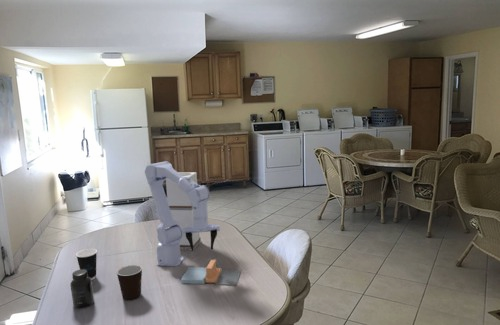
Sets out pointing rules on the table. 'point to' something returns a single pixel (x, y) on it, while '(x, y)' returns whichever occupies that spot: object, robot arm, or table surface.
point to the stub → (212, 272)
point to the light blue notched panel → (195, 275)
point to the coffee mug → (130, 281)
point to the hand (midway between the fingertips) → (202, 249)
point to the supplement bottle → (81, 289)
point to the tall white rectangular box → (182, 208)
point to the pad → (228, 277)
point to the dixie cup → (88, 261)
